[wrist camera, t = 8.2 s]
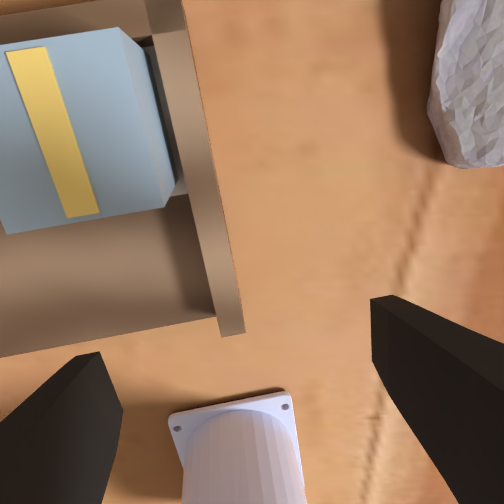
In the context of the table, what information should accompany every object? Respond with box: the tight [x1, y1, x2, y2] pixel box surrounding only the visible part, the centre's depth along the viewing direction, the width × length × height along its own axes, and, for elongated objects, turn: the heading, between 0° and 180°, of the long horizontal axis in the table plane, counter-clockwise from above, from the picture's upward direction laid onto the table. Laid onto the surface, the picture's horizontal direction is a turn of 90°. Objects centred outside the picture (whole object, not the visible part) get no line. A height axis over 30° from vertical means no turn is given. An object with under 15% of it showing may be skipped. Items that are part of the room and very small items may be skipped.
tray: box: [0, 0, 246, 358], centre depth 16 cm, size 14×14×3 cm
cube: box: [0, 27, 178, 235], centre depth 12 cm, size 5×5×5 cm
